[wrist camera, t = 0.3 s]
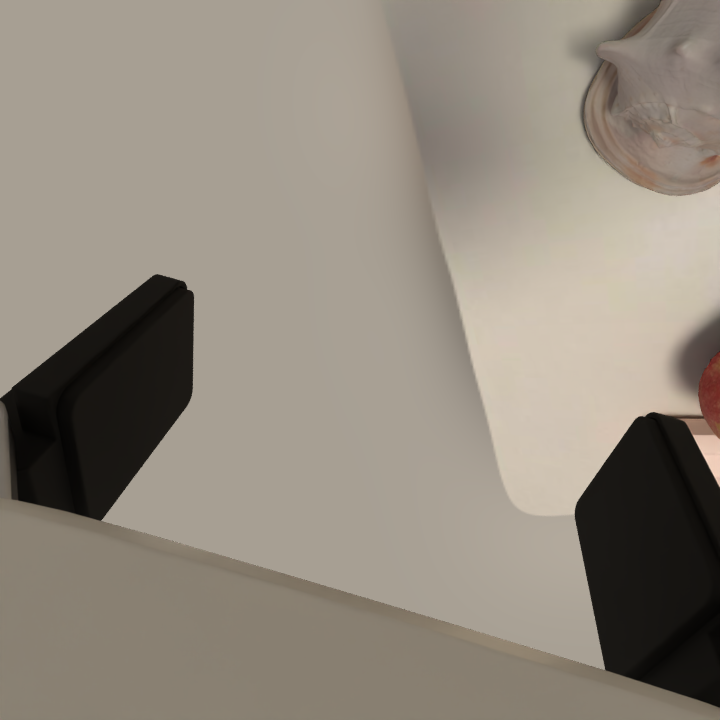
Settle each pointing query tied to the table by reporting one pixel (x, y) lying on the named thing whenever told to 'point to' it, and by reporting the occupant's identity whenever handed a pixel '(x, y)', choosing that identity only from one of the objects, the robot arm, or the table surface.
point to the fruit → (711, 394)
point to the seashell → (661, 99)
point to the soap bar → (706, 444)
